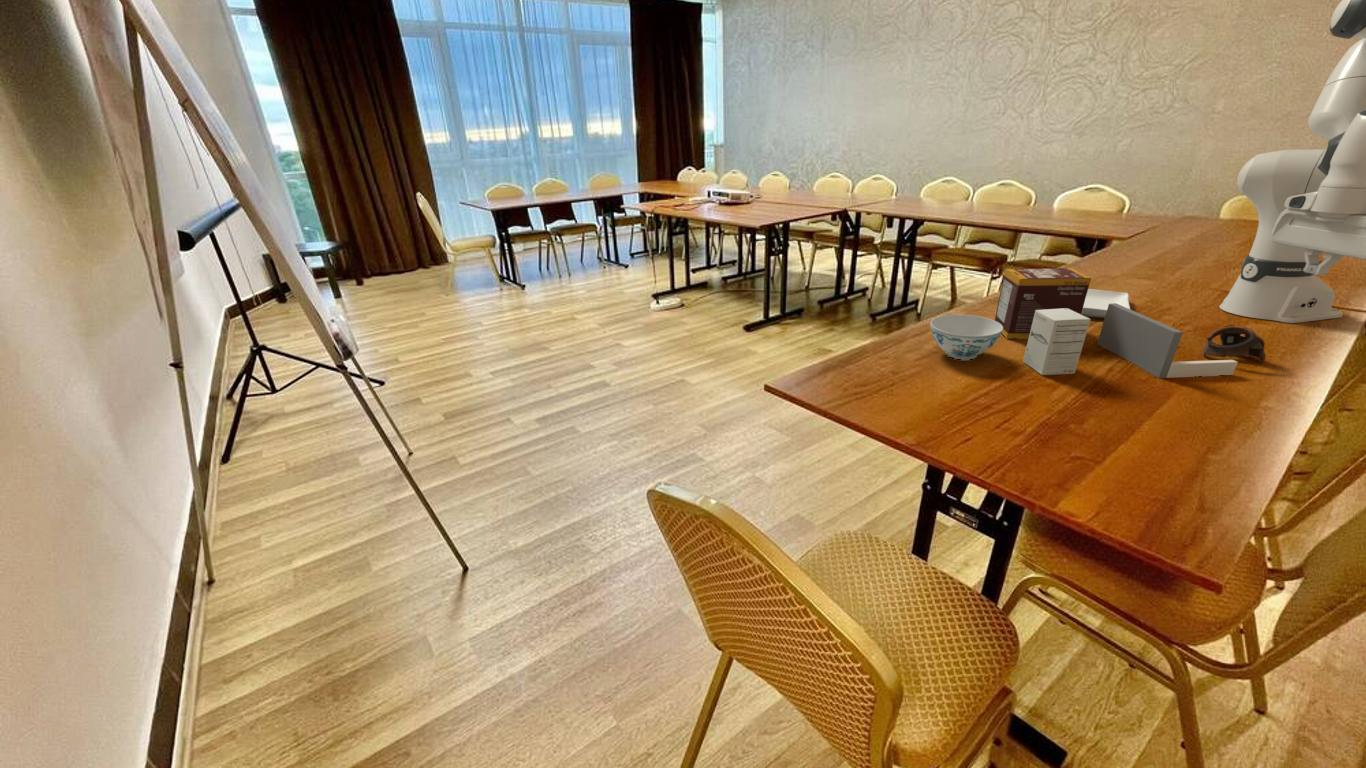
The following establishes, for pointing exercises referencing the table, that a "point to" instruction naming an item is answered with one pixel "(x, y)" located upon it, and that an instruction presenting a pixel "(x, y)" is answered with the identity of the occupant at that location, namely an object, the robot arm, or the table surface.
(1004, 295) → the supplement box
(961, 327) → the chinaware
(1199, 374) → the display stand
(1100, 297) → the salad plate
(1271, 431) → the table surface
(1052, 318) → the supplement box
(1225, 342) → the pottery mug
